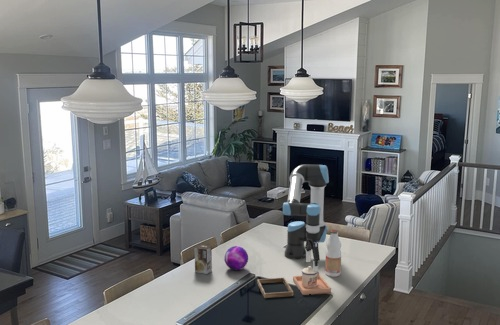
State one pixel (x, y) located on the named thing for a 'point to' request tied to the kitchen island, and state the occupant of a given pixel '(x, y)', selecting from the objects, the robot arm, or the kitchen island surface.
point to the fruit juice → (333, 255)
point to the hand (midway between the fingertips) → (311, 266)
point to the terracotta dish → (319, 289)
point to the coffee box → (203, 259)
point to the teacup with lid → (309, 277)
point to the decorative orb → (236, 258)
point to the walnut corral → (277, 294)
